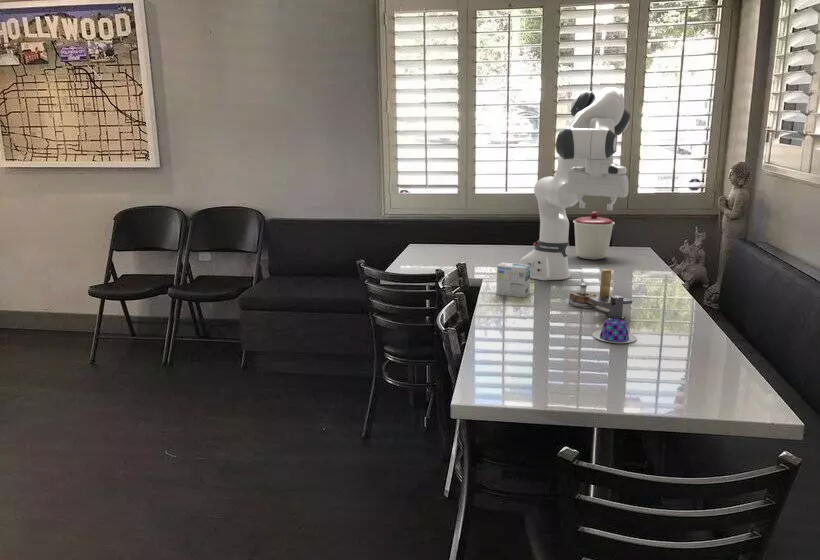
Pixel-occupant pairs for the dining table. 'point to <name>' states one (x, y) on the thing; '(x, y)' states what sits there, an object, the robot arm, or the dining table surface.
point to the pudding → (614, 332)
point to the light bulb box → (513, 279)
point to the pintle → (583, 293)
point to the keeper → (612, 305)
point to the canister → (592, 236)
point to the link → (603, 293)
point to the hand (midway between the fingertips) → (595, 209)
